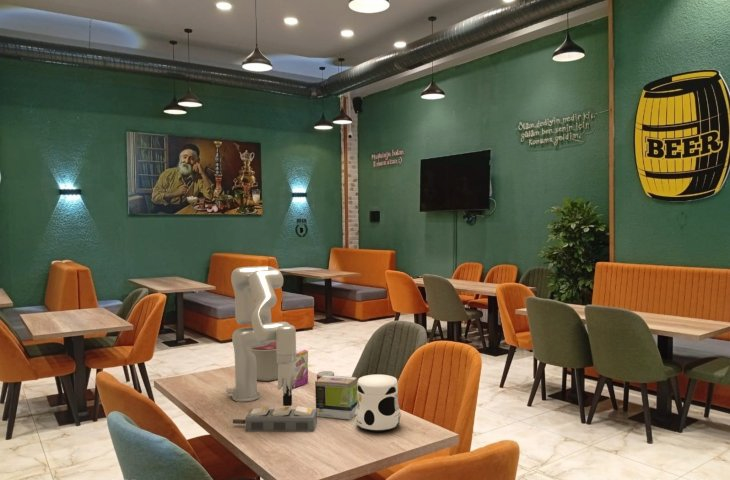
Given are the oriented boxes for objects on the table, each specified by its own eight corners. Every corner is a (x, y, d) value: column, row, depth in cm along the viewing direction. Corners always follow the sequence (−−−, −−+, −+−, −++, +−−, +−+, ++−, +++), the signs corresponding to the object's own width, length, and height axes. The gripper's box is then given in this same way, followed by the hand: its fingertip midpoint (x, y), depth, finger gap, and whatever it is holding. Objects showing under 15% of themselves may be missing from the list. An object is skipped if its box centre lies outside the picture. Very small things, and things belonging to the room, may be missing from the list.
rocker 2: (273, 417, 205) (272, 413, 205) (275, 413, 210) (274, 408, 210) (288, 414, 205) (287, 410, 205) (290, 409, 210) (289, 405, 210)
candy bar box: (293, 389, 254) (292, 354, 254) (285, 387, 257) (284, 353, 256) (308, 383, 263) (308, 350, 263) (301, 381, 266) (300, 348, 266)
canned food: (335, 394, 245) (335, 370, 245) (333, 400, 237) (332, 376, 237) (319, 394, 246) (318, 370, 245) (315, 400, 238) (315, 375, 237)
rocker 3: (294, 414, 205) (295, 410, 204) (296, 409, 210) (297, 405, 209) (309, 417, 204) (310, 413, 204) (311, 413, 209) (312, 408, 209)
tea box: (358, 412, 222) (358, 376, 222) (349, 420, 213) (349, 383, 212) (325, 408, 227) (324, 373, 227) (315, 416, 218) (314, 380, 217)
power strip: (229, 431, 204) (229, 417, 204) (236, 422, 213) (236, 409, 213) (313, 431, 202) (313, 417, 202) (317, 422, 211) (316, 409, 211)
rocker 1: (251, 417, 205) (250, 413, 205) (254, 413, 210) (253, 408, 210) (266, 414, 205) (265, 410, 205) (269, 409, 210) (268, 405, 210)
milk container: (349, 422, 211) (348, 376, 211) (389, 415, 218) (388, 371, 217) (365, 438, 195) (364, 389, 195) (408, 430, 202) (407, 383, 201)
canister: (292, 375, 277) (292, 334, 277) (272, 385, 261) (272, 342, 260) (263, 371, 285) (262, 332, 284) (242, 381, 268) (241, 339, 268)
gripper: (280, 353, 214) (281, 399, 214) (272, 362, 199) (273, 411, 200) (299, 353, 214) (300, 399, 214) (292, 362, 199) (293, 411, 199)
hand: (287, 405), depth 207 cm, fingers closed
